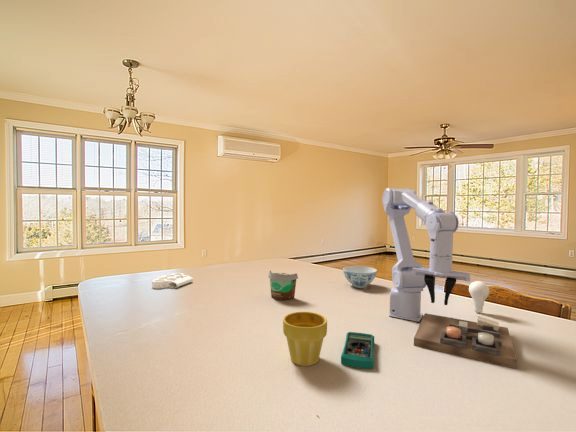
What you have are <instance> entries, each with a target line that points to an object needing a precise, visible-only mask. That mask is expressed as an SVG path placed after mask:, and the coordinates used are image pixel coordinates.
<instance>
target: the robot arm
mask: <svg viewBox="0 0 576 432" xmlns="http://www.w3.org/2000/svg"><path fill="white" fill-rule="evenodd" d="M416 191H417V190H414V189H413V188H410V187H409V188H390V187H386V188H385V189H384V191H383V194H382V198H381V199H382V206H383V209H384V213H385V214H386V215H387V217H388V222H389V226H390V231H391V236H392V239H393V240H392V241H393V244H394V250H395V253H396V258H397V262H396V263H395V264H394V265H393V266H392V268H391V272H392V273H391V274H392V275H391V276H392V277H391V279H392V284H393V286H394V287H391V290H390V295H389V315H388V316H389V317H392V318H398V319H402V320H408V321H413V322H420V323H421V321H422V319H423V317H424V313H423V312H421V307H422V306H421V303H422V302H421V301H422V292H424V289H425V288H427V290H428V293H429V297H430V303H432V304H435V302H436V300H435V299H436V293H435V292H436V291H435V290H436V288H435V285H436V278H441V279H445V282H444V283H445V284H444V287H445V288H444V289H445V292H444V293H445V294H444V303H443V304H444V306H448V303H449V297H450V295H451V293H452V290H453V289H454V288H455V285H456V284H457V281H465V282H467V283H468V282H471V273H470V272H469V273H468V272H463V271H462V272H461V271H457V270H453V248H454V233H455V232H456V231H457V230H458V229H459V223H460V222H459V218H458V215H456V213H455V212H453V211H449V212H446V211H445V210H443V208H442V207H439V206H437V205H435V204H434V203H435V202H434V201H432V200H423V199H421V197H420V196H418V195H417V192H416ZM411 209H413V210H415V214H416V216H417V218H419V219H420V220H421V221H423V222H424V223H425V227H426V229H427V232H428V233H427V235H428V238H429V240H430V241H429V242H430V243H429V265H428V266H429V268H428V267H423V264H421V263H420V262H419V261H417V260H416V259H415V257H414V254H413V249H412V245H411V241H410V237H409V233H408V229H407V226H406V225H407V224H406V221H405V216H406V215H408V214H409V213H410V212H411Z"/></svg>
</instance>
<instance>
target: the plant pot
mask: <svg viewBox="0 0 576 432" xmlns="http://www.w3.org/2000/svg"><path fill="white" fill-rule="evenodd" d="M282 332H283V334H284V336H285V338H286V341H287V346H288V353H289V356H290V360H291V362H292V364H293V363H294V364H295V365H298V366H303V367H307V366H313V365H315V364H317V363H318V362H319V359H320V355H321V351H322V347H323V343H324V342H323V341H324V338H325V337H326V336H327V332H328V320H327V318H326V316H324V315H323V314H321V313H317V312H314V311H294V312H291V313H288V314H286V315H285V316H284V317H283V319H282Z"/></svg>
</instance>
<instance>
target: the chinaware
mask: <svg viewBox="0 0 576 432" xmlns="http://www.w3.org/2000/svg"><path fill="white" fill-rule="evenodd" d="M342 270H343V275H344V277H345V279H346V280H347V281H348V282H349V283H350V284H351V286H352V287H353V288H357V289H362V288H363V289H365V288H367V287H368V285H370V284H371V283H372V282H373V281H374V279H375V278H376V275H377V272H378V270H377V268H374V267H369V266H363V265H350V266H345V267H343V268H342Z"/></svg>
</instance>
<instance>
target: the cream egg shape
mask: <svg viewBox="0 0 576 432" xmlns="http://www.w3.org/2000/svg"><path fill="white" fill-rule="evenodd" d="M478 342H480V343H482V344H485V345H493V342H494V336H493V335H491V334H489V333H484V332H480V333H478Z"/></svg>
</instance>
